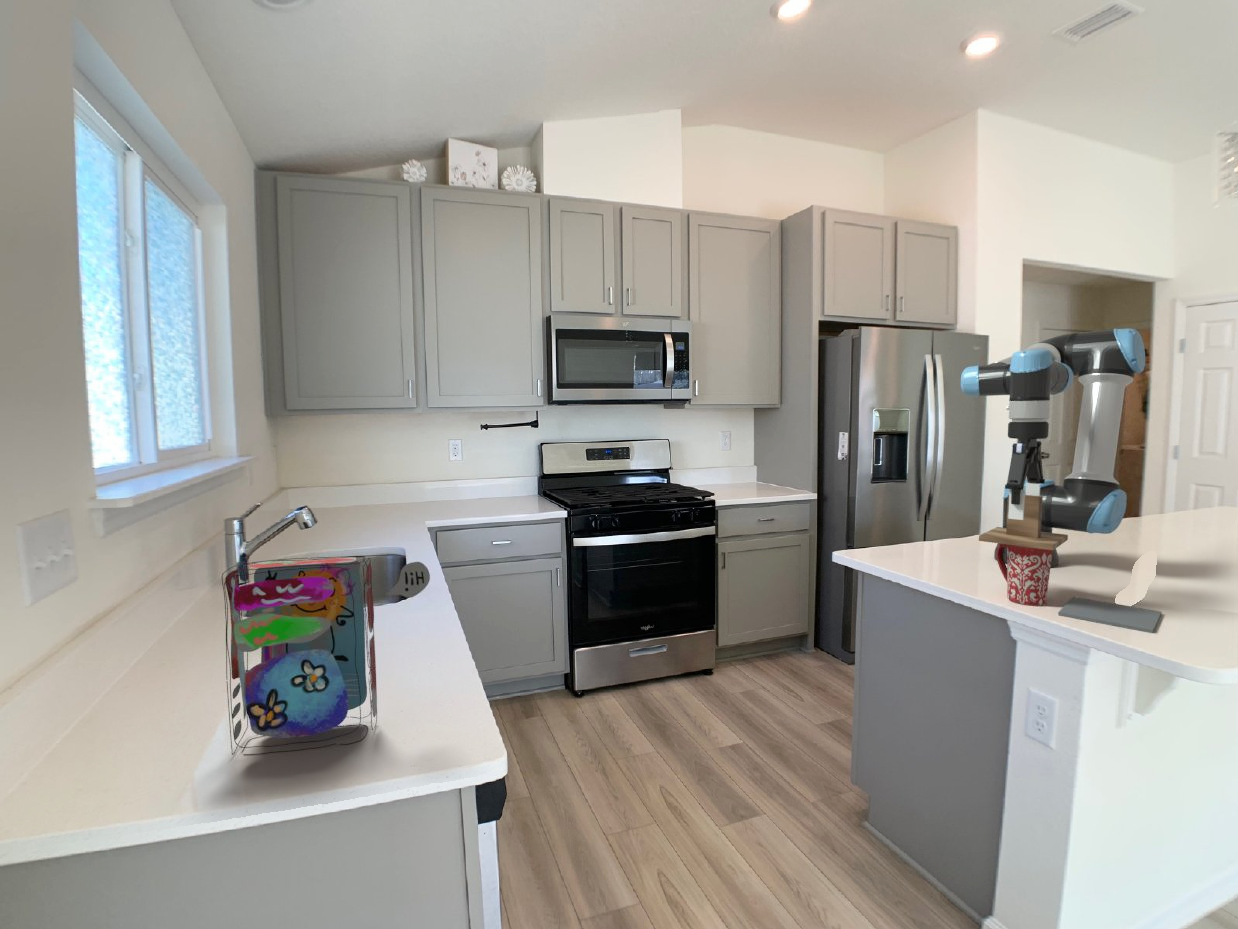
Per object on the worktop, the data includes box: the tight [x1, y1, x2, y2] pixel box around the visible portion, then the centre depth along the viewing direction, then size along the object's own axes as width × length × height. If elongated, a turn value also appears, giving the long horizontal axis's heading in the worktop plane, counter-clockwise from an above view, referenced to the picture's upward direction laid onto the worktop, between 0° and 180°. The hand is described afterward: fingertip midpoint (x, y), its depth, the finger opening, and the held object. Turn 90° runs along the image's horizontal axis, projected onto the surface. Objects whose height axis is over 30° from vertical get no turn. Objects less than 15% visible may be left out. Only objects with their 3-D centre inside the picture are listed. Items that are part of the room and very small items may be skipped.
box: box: [221, 555, 431, 756], centre depth 83 cm, size 25×6×24 cm, turn 102°
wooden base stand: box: [978, 495, 1069, 550], centre depth 137 cm, size 14×14×10 cm
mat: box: [1057, 596, 1163, 634], centre depth 127 cm, size 15×15×1 cm
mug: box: [996, 544, 1053, 607], centre depth 138 cm, size 13×9×14 cm
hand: (1024, 515), depth 137 cm, fingers open, 13 cm apart
